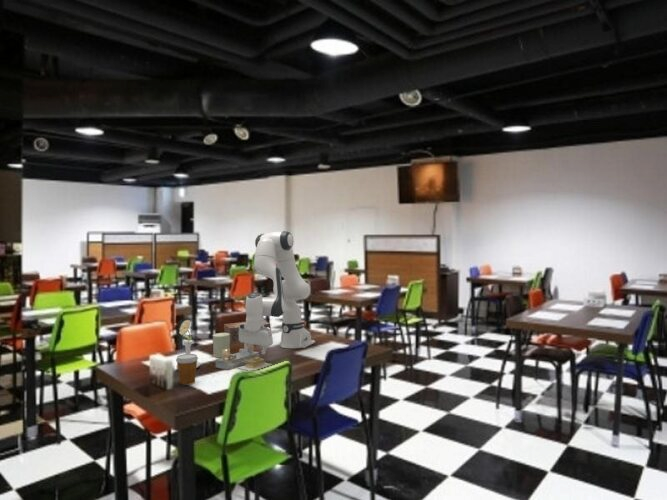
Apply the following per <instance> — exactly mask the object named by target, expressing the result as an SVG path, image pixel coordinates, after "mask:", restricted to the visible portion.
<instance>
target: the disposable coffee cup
mask: <svg viewBox="0 0 667 500" xmlns="http://www.w3.org/2000/svg"><path fill="white" fill-rule="evenodd" d="M198 359H199V357H198V355H197V354H196V353H191V354H186V353H183V354H179V355H177V356H176V359H175V361H176V363H177V364H176V366H177V365H178V368H177V371H178V375H179V376H178V377H179V384H180V385H186V386H187V385H192V384H194V383H195V382H196V373H197V368H196V365H197V360H198Z"/></svg>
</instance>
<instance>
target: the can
mask: <svg viewBox="0 0 667 500" xmlns="http://www.w3.org/2000/svg"><path fill="white" fill-rule="evenodd" d="M212 343H213V344H212V345H213V346H212V347H213V351H212V352H213V353H212V355H213V357H214V358H222V350H223V349H230V350H231V346H230V345H231V344H230V334H229V333H224V332H219V333H214V334H212Z"/></svg>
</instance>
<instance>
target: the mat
mask: <svg viewBox="0 0 667 500" xmlns="http://www.w3.org/2000/svg"><path fill="white" fill-rule="evenodd" d="M270 365H271V366H273V364H272V363H269V362H264V365H262V366H259V367H256V368H248V367H246V364H245V365H242V366H239V367H237V370H241V371H246V372H248V371H247V370H257V369H260V370H262V369H261V368H263V369H265V368H268V367H270ZM267 366H268V367H267ZM264 367H265V368H264ZM257 371H258V370H257Z"/></svg>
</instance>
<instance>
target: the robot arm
mask: <svg viewBox="0 0 667 500" xmlns="http://www.w3.org/2000/svg"><path fill="white" fill-rule="evenodd" d="M254 243H255V244H254V245H255V253H254V261H253V265H254V266H253V267H254V269H255V271H256V272H257V273H258V274H260V275H262V276H264V277H267V278H268V279H271V280H272V282H273V288H272V290H273V294H274V296H272V297H265V296H263V295H262V293H261V292H251V293H248V294H247V295H246V298H245V314H246V318H245V321H244V322H245V323H242V324H240V325H239V341H240V342H242V343H243V344H244V343H245V346H246V348H247V352H251V348H250V346H249V344H254V345H255V346H261V349H262V350H260V355H265V354H266V350H267V348H268V347H270V346H273V343H274V342H273V341H274V340H273V339H274V338H273V334H272V330H271V328H270V329H269V328H268V327H264V321H265V319H264V317H273V318H274V317H275V318H280V317H281V316H282V323H281V328H282V330H281V337H280V342H279V345H280V348H283V349H305V348H307V347H310V346H311V345H313V344H315V343H316V341H315V340H314V339H312V334H311V332H310V331H309V330H307V329H306V328H305V327H304V326H306V324H307V322H306V321H302V309H301V307H300V306H299V305H298V303H297V301H296V300H299V301H300V300H306V299H307V298H308V297H309V296H310V294H311V286H310V285H309V283H307V281H305V280H304V279H303V277H302V275H301V274H300V273H299V270H298V268H297V264H296V258H295V254H294V251H293V245H294V236H293V235H292V233H291V232H290V231H285V230H283V231H272V232H267V233H261V234H259V235H257V237H256V238H255V241H254ZM282 278H283V279H282ZM268 329H269V330H268Z"/></svg>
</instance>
